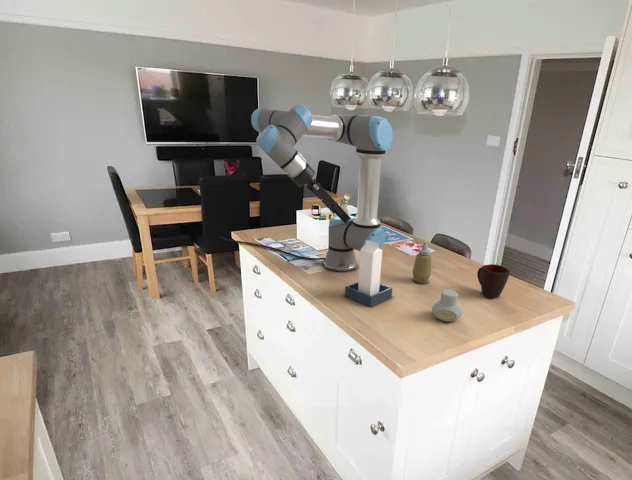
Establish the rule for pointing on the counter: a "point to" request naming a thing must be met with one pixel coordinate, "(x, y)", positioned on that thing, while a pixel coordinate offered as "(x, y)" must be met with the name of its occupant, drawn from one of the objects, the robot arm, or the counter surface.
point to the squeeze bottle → (422, 265)
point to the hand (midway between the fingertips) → (341, 215)
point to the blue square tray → (368, 300)
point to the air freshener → (447, 306)
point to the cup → (492, 279)
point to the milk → (370, 268)
